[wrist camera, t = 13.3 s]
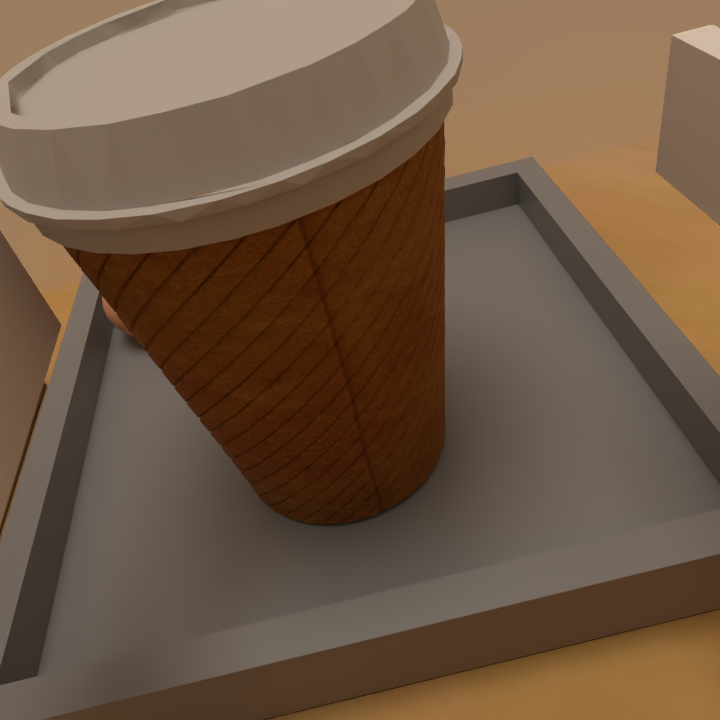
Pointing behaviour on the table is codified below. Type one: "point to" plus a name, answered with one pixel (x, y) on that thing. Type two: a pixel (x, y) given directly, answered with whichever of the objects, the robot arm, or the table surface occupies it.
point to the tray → (389, 527)
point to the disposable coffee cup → (261, 223)
